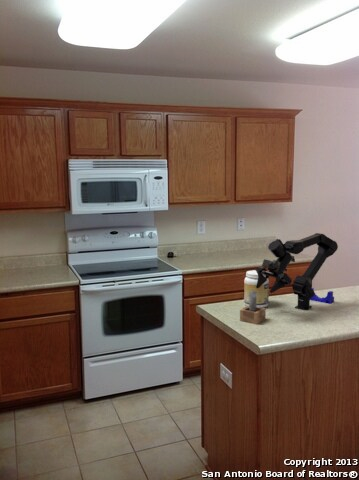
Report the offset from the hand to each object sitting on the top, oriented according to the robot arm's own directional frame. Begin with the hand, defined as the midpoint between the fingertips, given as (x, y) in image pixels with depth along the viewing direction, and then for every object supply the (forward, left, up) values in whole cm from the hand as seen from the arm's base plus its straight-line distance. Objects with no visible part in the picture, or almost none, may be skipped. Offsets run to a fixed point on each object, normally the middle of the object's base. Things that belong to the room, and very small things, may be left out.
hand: (263, 290), depth 190 cm
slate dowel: (+6, -2, -13) cm, 14 cm away
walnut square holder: (+6, -2, -13) cm, 14 cm away
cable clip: (-41, +13, -13) cm, 45 cm away
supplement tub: (-15, -11, -13) cm, 23 cm away
